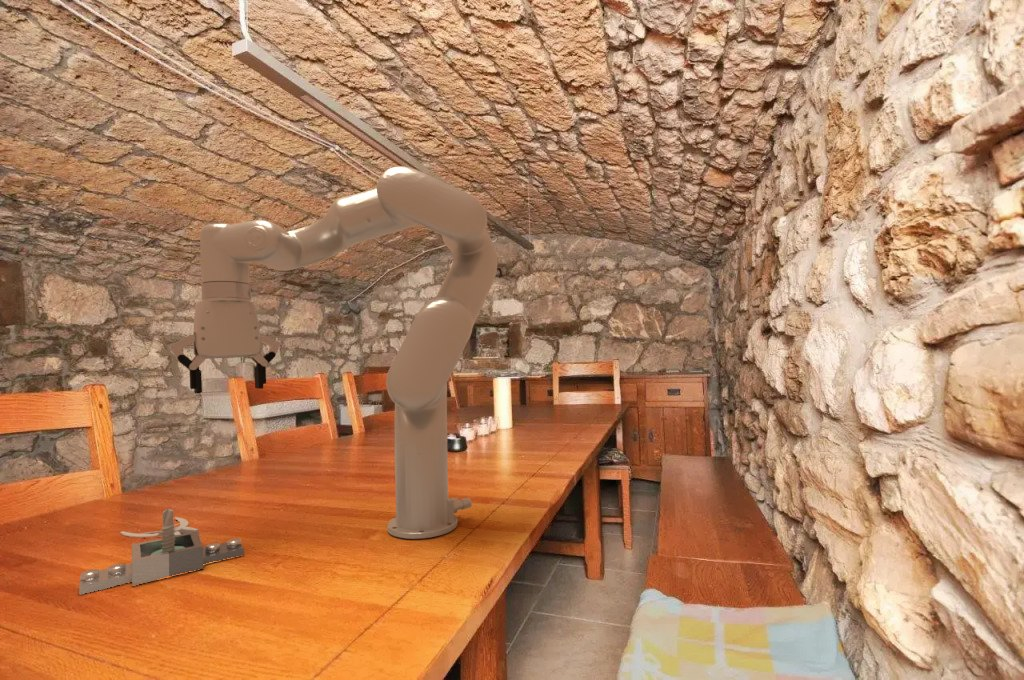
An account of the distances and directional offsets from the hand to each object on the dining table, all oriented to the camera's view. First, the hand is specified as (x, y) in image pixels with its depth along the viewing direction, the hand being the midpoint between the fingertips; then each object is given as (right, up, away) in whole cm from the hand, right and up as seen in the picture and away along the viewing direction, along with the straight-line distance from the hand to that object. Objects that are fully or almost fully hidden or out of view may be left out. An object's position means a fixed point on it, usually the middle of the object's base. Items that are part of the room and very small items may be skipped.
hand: (229, 390), depth 89 cm
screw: (-2, -26, -13) cm, 29 cm away
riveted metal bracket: (-2, -26, -13) cm, 29 cm away
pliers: (-13, -27, +3) cm, 30 cm away
